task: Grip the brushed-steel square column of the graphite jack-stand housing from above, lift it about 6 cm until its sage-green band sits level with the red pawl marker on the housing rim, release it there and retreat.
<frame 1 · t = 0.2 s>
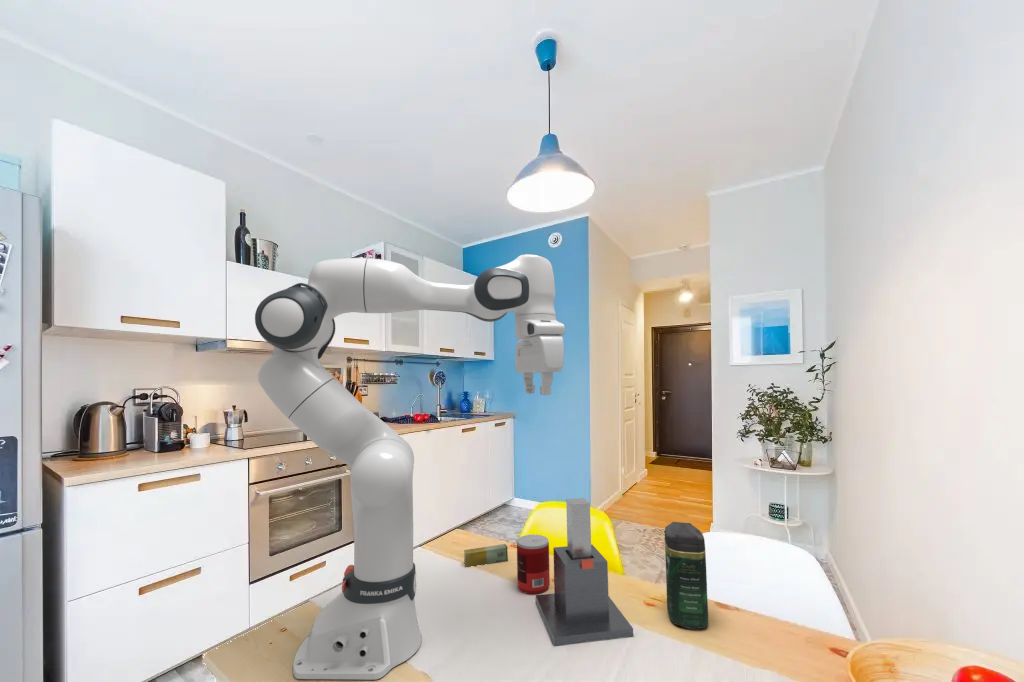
hand: (537, 394, 91), 47 cm above the table, tool pointing down, fingers open, 8 cm apart
coffee jar: (687, 618, 90), on the table
canned food: (533, 587, 104), on the table
column: (579, 554, 91), point 13 cm above the table, slide at 0.0 cm
stand housing: (581, 617, 90), on the table
medication box: (486, 563, 118), on the table
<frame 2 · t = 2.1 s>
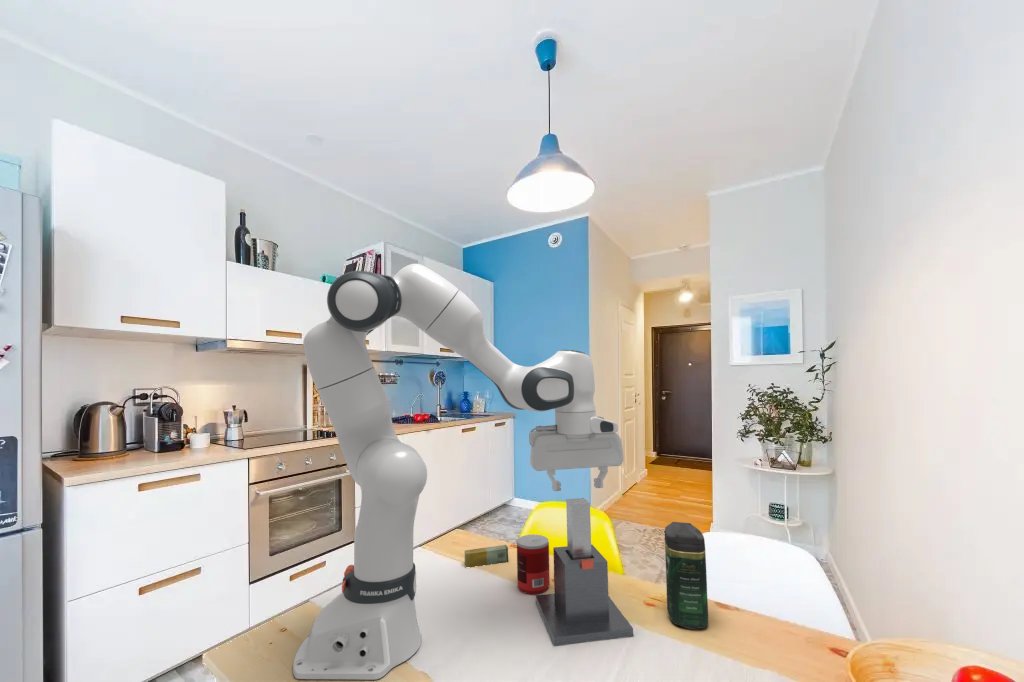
hand: (577, 488, 92), 27 cm above the table, tool pointing down, fingers open, 8 cm apart
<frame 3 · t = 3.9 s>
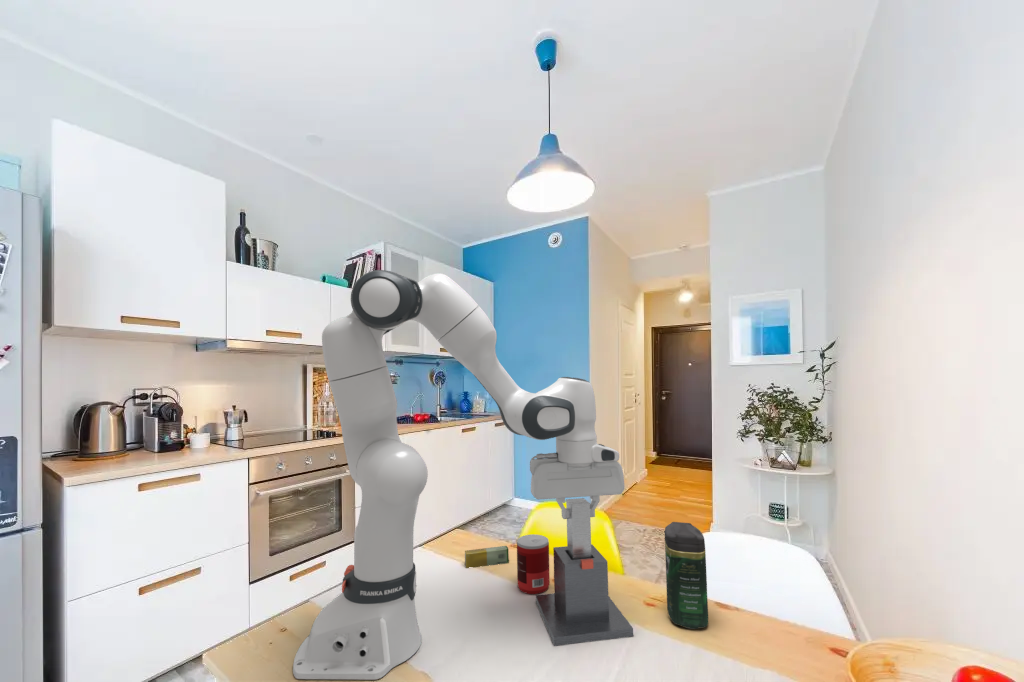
hand: (578, 517, 92), 21 cm above the table, tool pointing down, fingers closed on column, 4 cm apart
column: (579, 554, 91), point 13 cm above the table, slide at 0.0 cm, touching gripper
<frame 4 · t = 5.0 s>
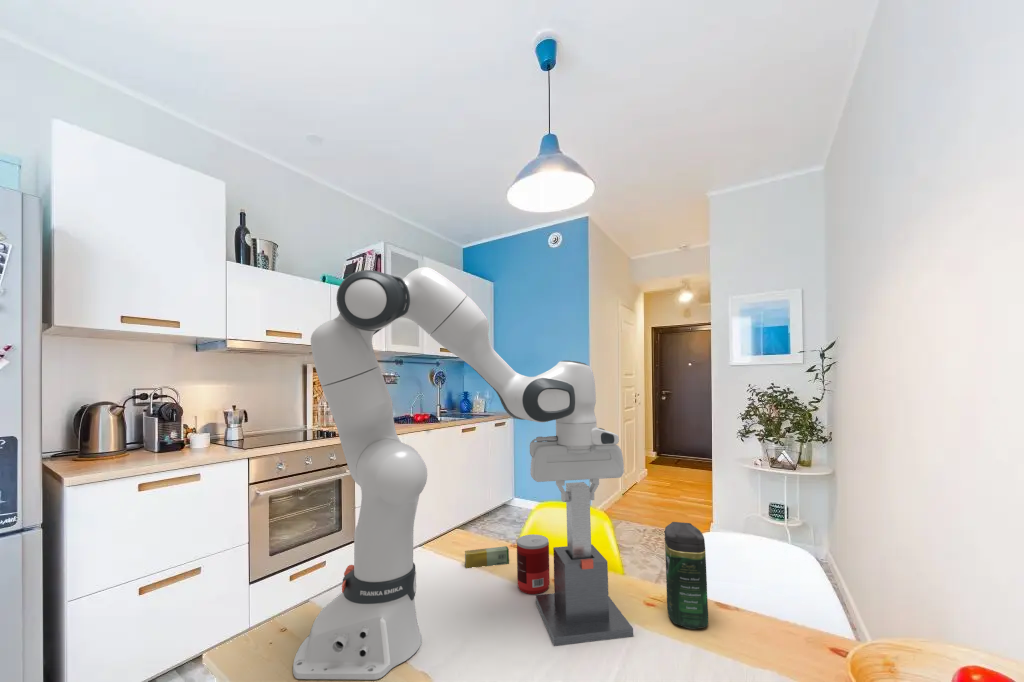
hand: (577, 500, 92), 24 cm above the table, tool pointing down, fingers closed on column, 4 cm apart
column: (578, 537, 91), point 16 cm above the table, slide at 3.5 cm, touching gripper
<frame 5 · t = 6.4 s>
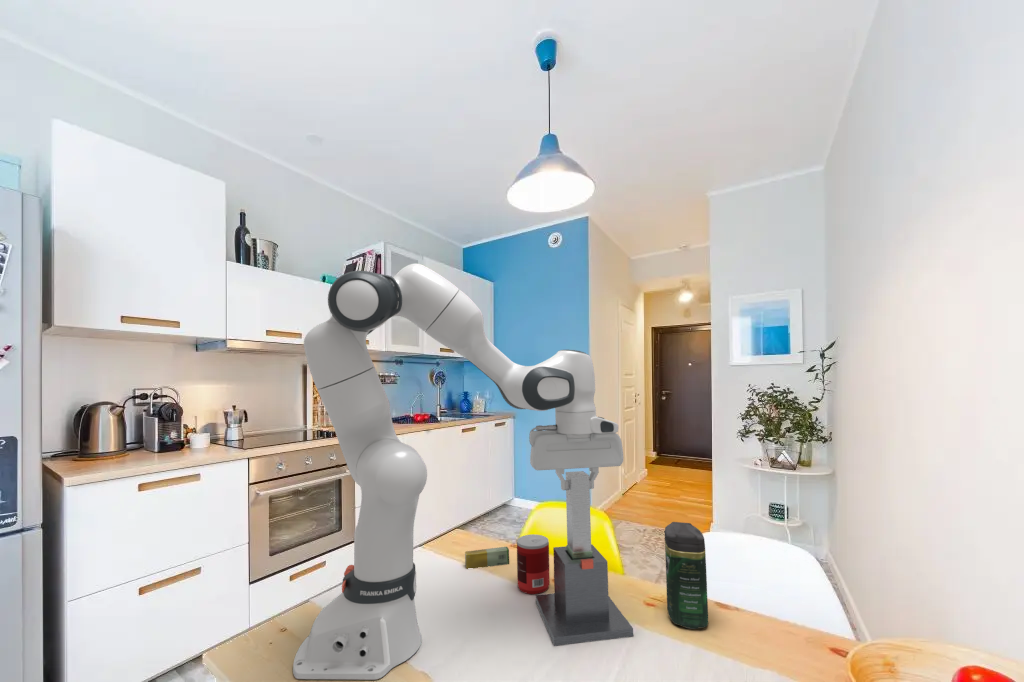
hand: (577, 488, 92), 27 cm above the table, tool pointing down, fingers closed on column, 4 cm apart
column: (578, 525, 92), point 19 cm above the table, slide at 5.8 cm, touching gripper
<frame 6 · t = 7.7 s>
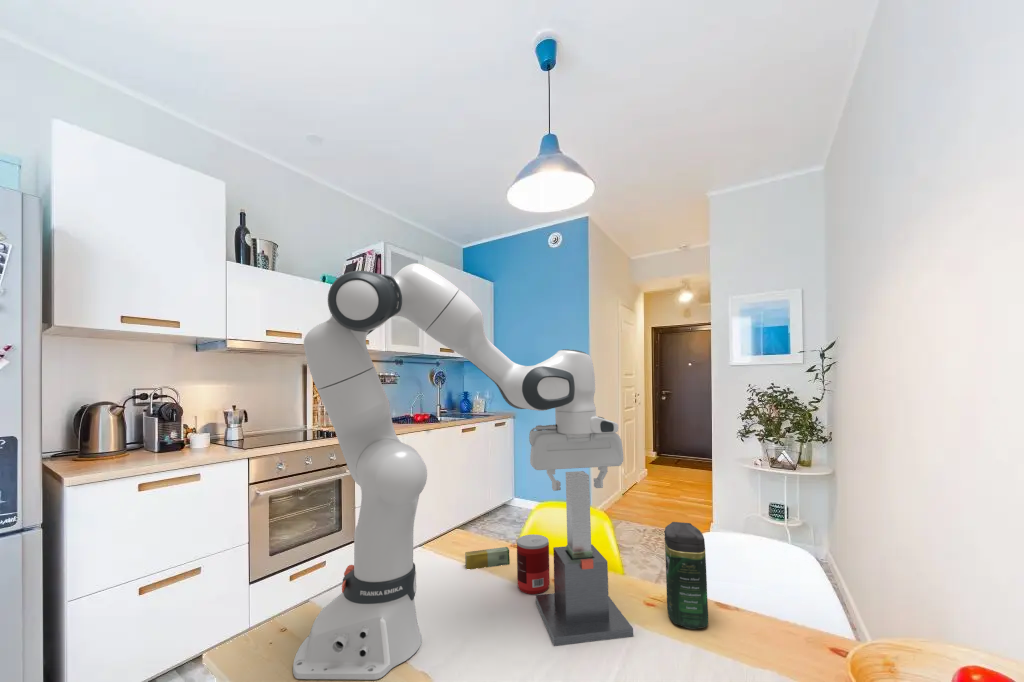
hand: (577, 488, 92), 27 cm above the table, tool pointing down, fingers open, 8 cm apart
column: (578, 525, 92), point 19 cm above the table, slide at 5.8 cm
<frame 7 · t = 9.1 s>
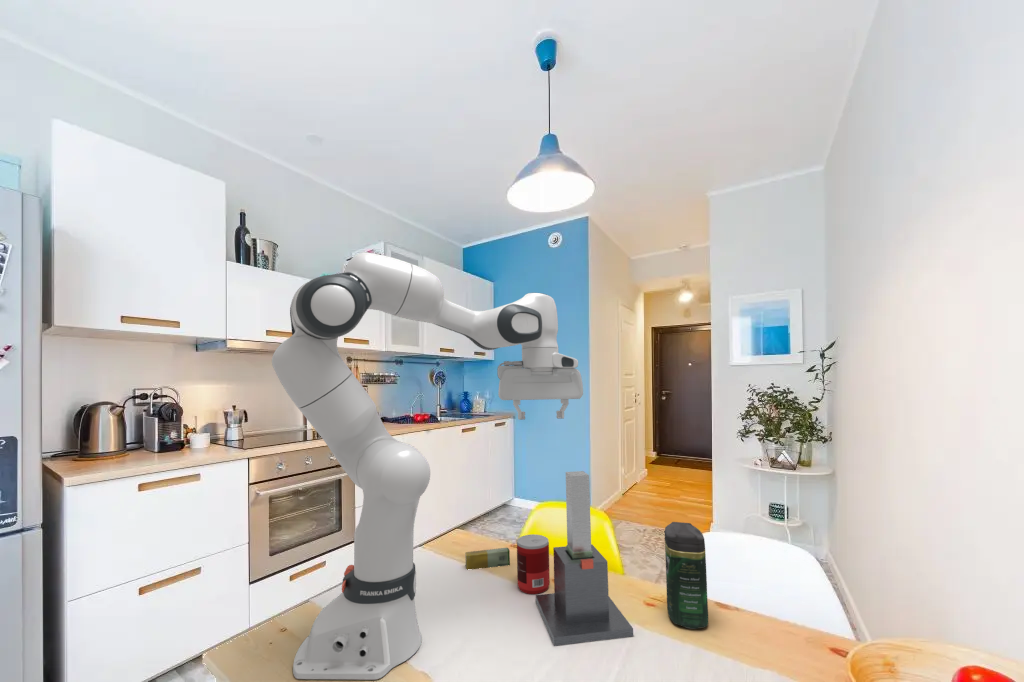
hand: (541, 418, 102), 41 cm above the table, tool pointing down, fingers open, 8 cm apart
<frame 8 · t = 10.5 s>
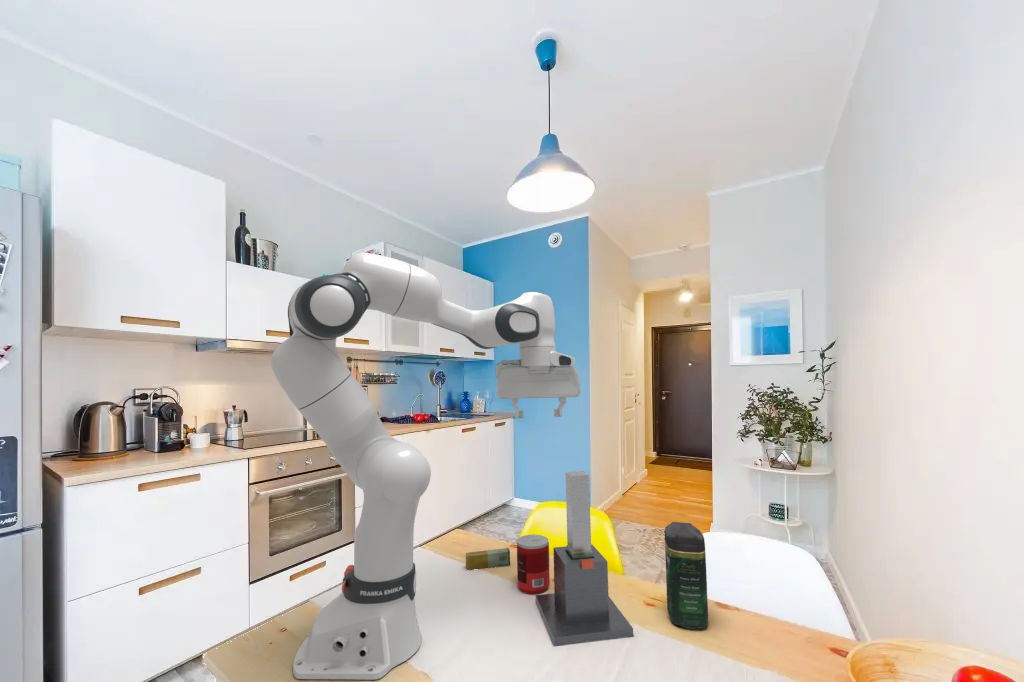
hand: (538, 417, 102), 41 cm above the table, tool pointing down, fingers open, 8 cm apart
at the end: column slide at 5.8 cm; the gripper is holding nothing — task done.
